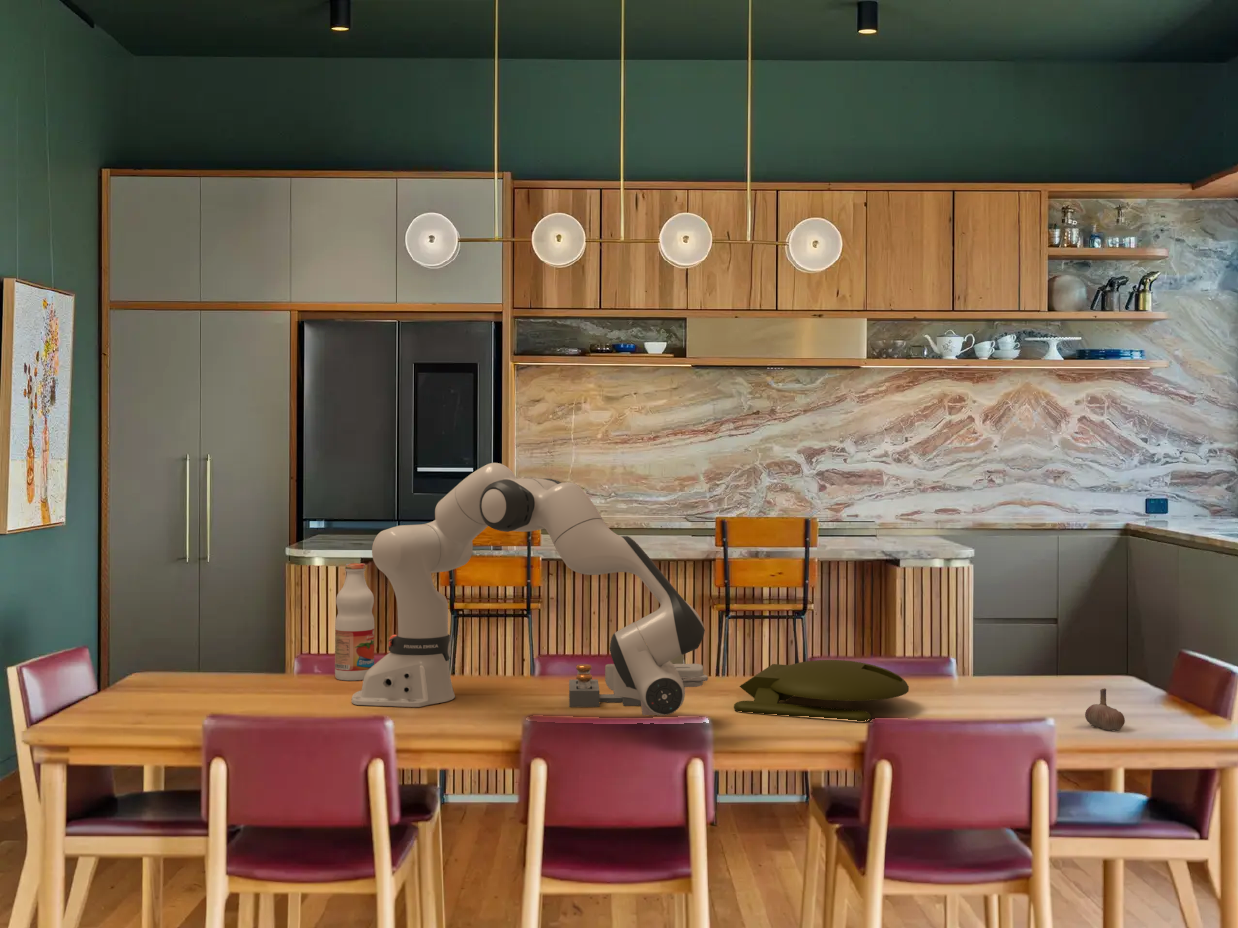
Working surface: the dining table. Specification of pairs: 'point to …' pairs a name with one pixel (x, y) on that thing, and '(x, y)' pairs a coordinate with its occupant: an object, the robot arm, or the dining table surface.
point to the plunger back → (583, 668)
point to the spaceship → (820, 688)
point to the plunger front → (584, 681)
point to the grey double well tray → (594, 696)
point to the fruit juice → (354, 626)
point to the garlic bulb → (1104, 715)
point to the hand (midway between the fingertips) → (651, 668)
